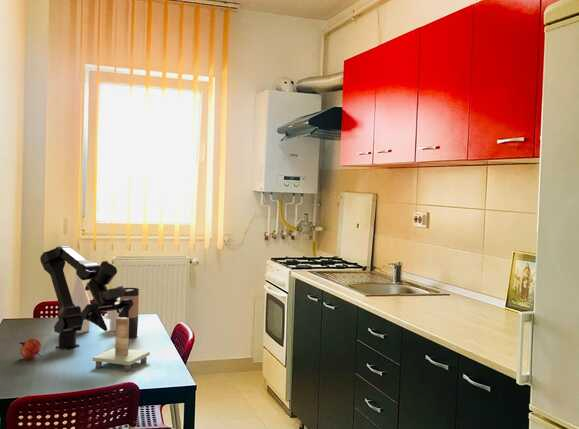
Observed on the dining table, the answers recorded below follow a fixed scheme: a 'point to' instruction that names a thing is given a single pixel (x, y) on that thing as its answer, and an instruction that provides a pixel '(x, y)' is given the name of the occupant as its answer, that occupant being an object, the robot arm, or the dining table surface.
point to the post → (122, 336)
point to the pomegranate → (30, 349)
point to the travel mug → (132, 310)
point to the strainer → (113, 317)
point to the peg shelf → (121, 358)
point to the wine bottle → (80, 300)
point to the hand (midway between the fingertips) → (117, 328)
